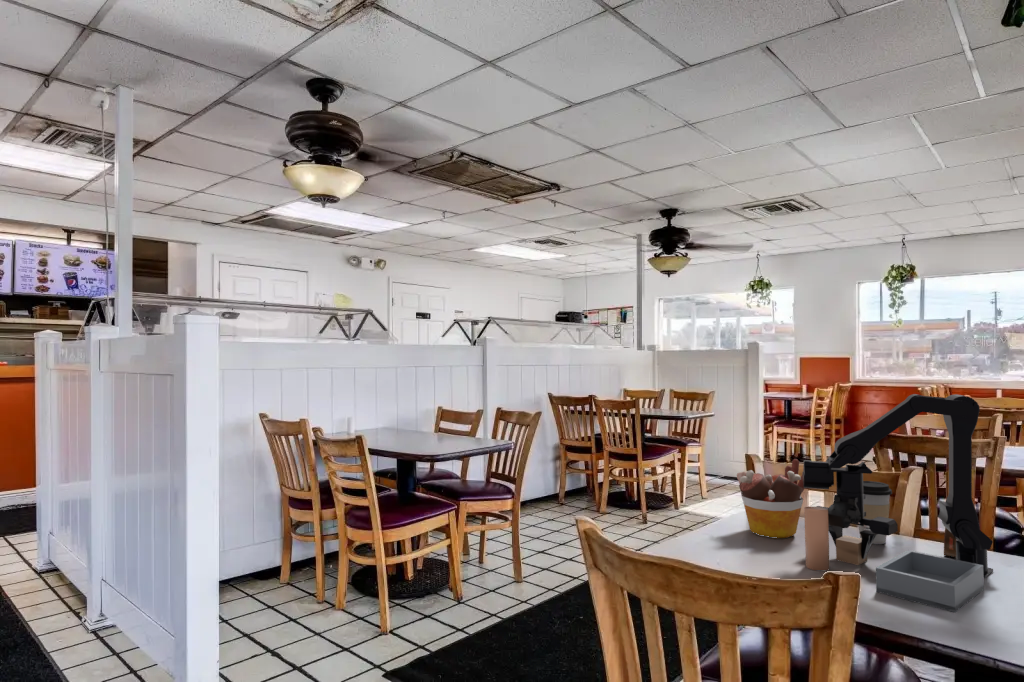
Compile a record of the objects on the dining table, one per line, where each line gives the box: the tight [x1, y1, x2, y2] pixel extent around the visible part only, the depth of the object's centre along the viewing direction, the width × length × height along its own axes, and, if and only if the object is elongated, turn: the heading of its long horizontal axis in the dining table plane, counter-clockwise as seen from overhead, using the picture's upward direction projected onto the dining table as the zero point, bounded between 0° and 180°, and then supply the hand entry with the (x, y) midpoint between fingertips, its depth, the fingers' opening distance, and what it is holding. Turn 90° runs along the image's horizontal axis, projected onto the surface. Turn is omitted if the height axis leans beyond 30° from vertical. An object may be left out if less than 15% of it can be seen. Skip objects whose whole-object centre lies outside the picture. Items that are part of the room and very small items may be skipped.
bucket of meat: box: [736, 458, 805, 539], centre depth 175 cm, size 20×16×20 cm
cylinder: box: [803, 506, 831, 572], centre depth 147 cm, size 5×5×14 cm
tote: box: [875, 549, 985, 613], centre depth 132 cm, size 18×14×5 cm
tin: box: [943, 526, 957, 558], centre depth 156 cm, size 15×3×8 cm, turn 141°
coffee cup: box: [857, 480, 893, 545], centre depth 167 cm, size 9×9×15 cm
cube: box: [835, 534, 868, 566], centre depth 151 cm, size 5×5×5 cm
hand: (851, 555), depth 151 cm, fingers closed on cube, 5 cm apart
